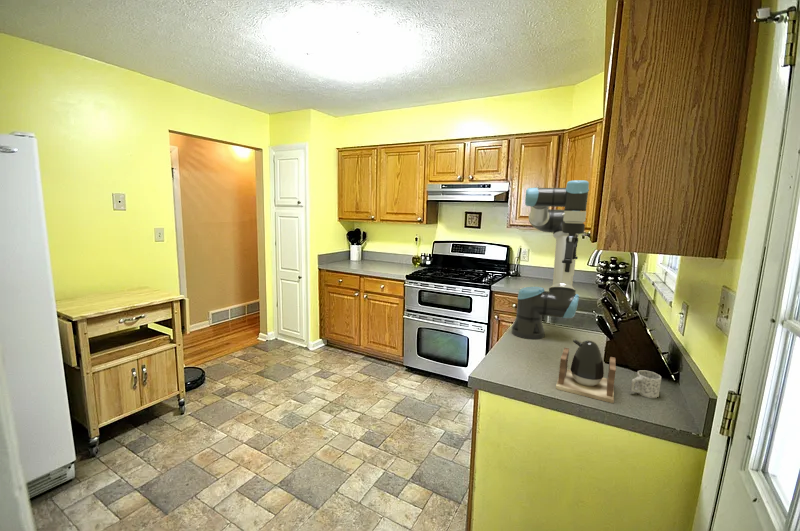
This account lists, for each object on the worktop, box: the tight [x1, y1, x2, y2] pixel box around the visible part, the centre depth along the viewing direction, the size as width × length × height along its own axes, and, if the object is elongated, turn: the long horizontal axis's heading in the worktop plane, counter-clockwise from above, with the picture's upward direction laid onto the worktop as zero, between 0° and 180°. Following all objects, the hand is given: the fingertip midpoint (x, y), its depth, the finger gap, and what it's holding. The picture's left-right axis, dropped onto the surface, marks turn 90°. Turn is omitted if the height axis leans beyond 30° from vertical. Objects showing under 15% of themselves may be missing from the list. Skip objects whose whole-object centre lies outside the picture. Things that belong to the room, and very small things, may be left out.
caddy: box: [555, 347, 617, 404], centre depth 123 cm, size 16×17×10 cm
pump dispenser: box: [570, 339, 605, 386], centre depth 123 cm, size 10×10×15 cm
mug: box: [629, 369, 662, 399], centre depth 119 cm, size 10×7×7 cm, turn 102°
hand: (568, 277), depth 137 cm, fingers open, 13 cm apart
